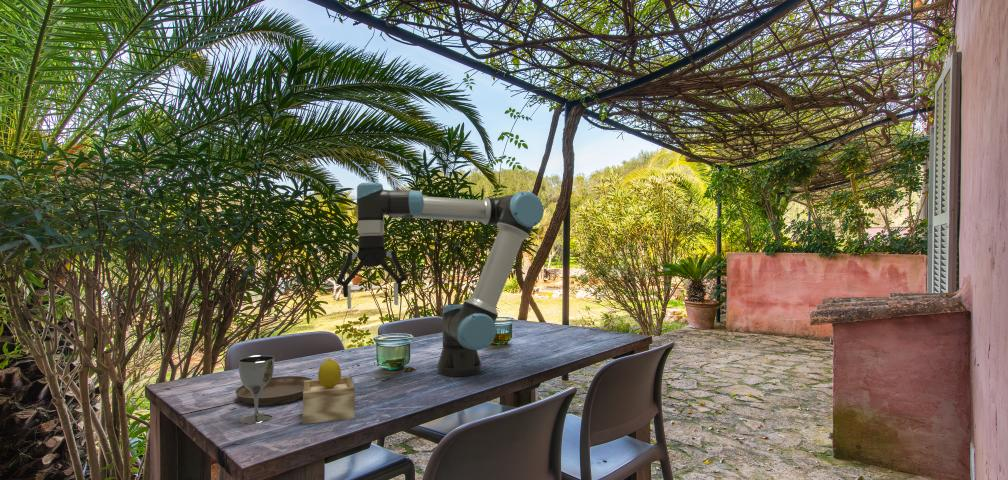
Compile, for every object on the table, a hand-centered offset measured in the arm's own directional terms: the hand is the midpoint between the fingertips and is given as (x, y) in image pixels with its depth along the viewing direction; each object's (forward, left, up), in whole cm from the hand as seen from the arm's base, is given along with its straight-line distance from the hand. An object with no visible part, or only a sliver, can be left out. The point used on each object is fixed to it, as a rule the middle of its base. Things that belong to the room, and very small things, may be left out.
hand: (373, 306), depth 146 cm
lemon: (+12, +16, -19) cm, 28 cm away
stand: (+13, +16, -25) cm, 32 cm away
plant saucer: (+27, -5, -26) cm, 37 cm away
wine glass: (+30, +14, -25) cm, 41 cm away
